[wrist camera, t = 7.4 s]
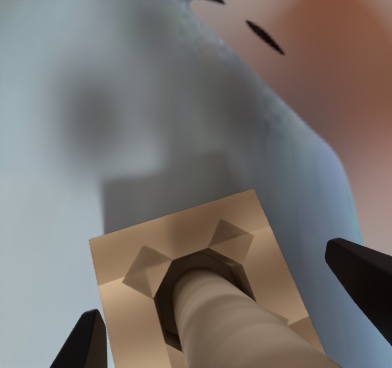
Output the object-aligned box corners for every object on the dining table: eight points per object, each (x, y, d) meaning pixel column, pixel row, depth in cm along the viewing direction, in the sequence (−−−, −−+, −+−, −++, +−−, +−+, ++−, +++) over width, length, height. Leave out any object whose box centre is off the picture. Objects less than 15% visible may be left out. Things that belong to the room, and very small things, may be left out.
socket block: (295, 346, 17) (331, 366, 14) (143, 420, 15) (135, 468, 11) (237, 203, 21) (253, 188, 17) (104, 246, 18) (88, 239, 14)
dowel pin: (218, 334, 17) (505, 803, 3) (163, 320, 16) (222, 808, 3) (233, 275, 18) (511, 451, 4) (180, 260, 17) (294, 404, 4)
